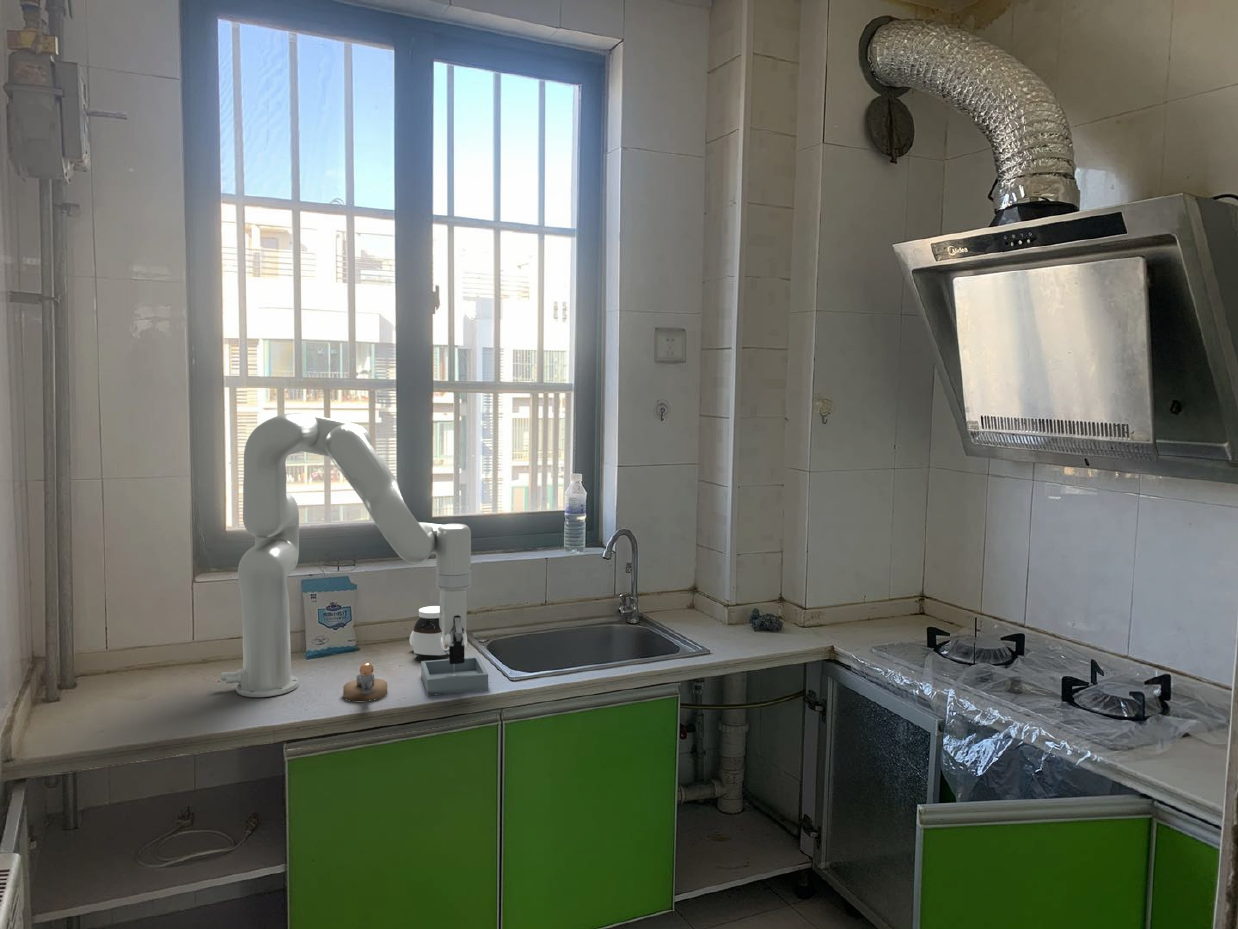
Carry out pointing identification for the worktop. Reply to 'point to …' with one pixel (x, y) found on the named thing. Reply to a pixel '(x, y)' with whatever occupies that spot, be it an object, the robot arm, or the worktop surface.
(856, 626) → the worktop surface
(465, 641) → the wineglass
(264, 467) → the robot arm
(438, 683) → the tray
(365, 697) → the crank base
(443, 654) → the spread jar
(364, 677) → the crank
